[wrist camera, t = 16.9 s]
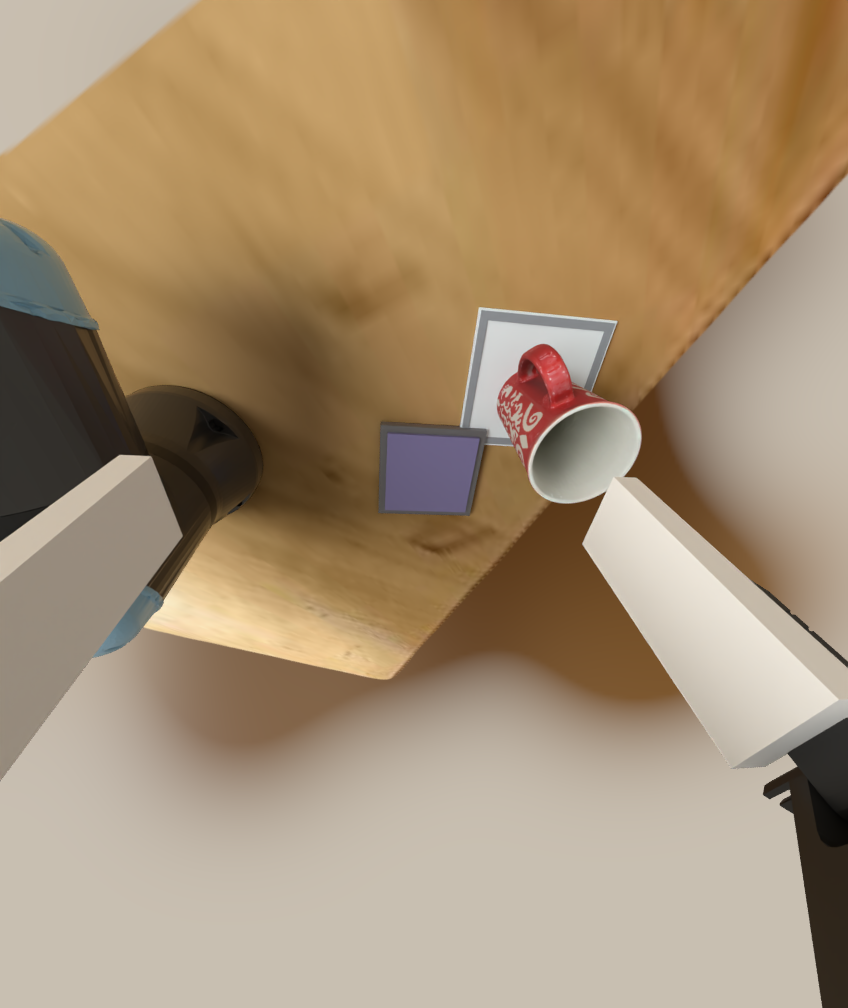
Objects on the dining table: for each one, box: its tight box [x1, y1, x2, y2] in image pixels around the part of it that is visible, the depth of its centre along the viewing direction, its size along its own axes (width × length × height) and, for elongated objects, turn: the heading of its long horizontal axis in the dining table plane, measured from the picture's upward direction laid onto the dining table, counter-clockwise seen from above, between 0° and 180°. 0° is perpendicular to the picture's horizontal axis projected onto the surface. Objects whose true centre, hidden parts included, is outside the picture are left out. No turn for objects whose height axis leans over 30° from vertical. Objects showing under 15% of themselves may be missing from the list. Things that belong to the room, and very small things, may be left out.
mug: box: [497, 344, 642, 503], centre depth 32 cm, size 13×9×14 cm
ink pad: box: [379, 422, 487, 516], centre depth 42 cm, size 12×12×1 cm
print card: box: [460, 307, 617, 446], centre depth 38 cm, size 14×14×1 cm
